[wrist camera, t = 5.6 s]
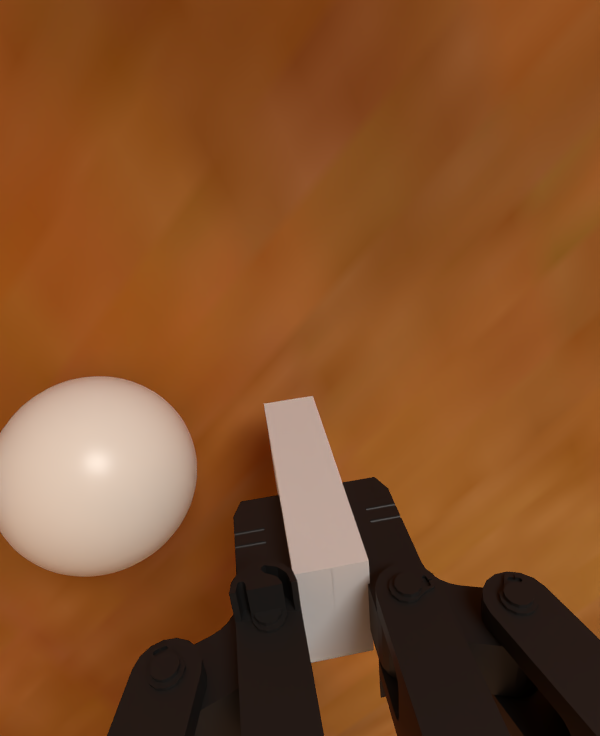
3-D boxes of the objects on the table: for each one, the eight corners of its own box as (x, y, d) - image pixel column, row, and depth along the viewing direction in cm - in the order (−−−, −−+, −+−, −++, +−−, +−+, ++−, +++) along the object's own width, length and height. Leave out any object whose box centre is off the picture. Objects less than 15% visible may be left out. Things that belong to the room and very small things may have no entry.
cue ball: (21, 656, 13) (34, 518, 18) (232, 574, 15) (194, 466, 19) (-74, 483, 11) (-30, 375, 15) (192, 406, 12) (159, 329, 17)
